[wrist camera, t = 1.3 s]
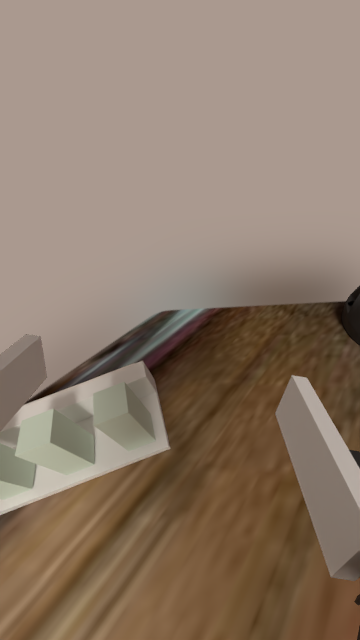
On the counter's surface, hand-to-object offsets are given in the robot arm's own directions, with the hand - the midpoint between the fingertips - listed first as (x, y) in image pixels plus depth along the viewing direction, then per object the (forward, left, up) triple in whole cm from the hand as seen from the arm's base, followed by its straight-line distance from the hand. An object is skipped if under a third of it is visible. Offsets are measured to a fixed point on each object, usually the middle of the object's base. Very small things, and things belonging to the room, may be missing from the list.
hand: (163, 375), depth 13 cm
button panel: (+18, -11, -25) cm, 32 cm away
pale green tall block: (+9, -8, -23) cm, 26 cm away
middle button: (+18, -8, -23) cm, 30 cm away
